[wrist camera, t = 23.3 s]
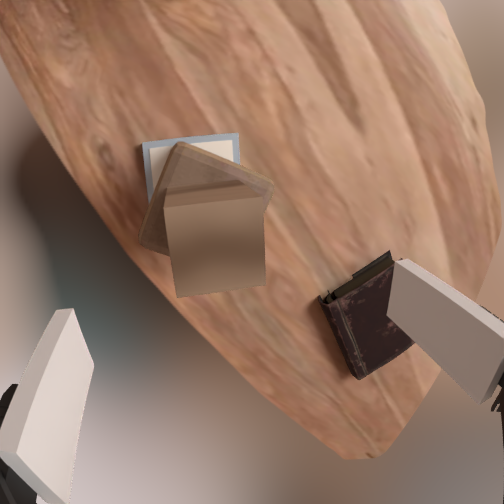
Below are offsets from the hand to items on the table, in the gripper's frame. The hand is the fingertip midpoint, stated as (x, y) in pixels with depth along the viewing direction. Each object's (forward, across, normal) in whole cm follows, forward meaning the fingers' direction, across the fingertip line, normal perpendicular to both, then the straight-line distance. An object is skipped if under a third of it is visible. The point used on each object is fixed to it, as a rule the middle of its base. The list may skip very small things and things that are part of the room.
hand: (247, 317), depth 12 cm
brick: (+17, 0, 0) cm, 17 cm away
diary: (+39, +34, -31) cm, 60 cm away
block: (+37, 0, 0) cm, 37 cm away
